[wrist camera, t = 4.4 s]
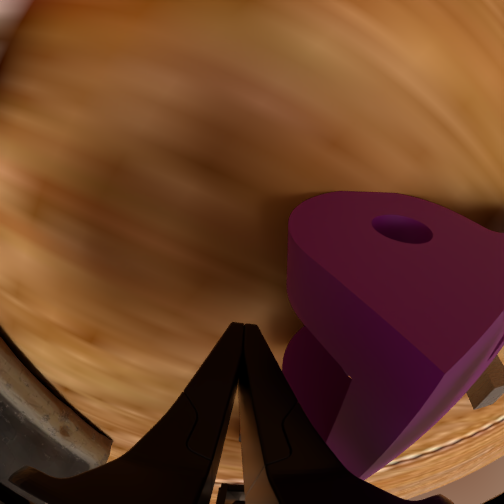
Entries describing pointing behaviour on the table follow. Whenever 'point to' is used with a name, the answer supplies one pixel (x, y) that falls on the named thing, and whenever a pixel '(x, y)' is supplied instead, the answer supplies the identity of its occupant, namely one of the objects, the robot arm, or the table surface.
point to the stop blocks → (488, 385)
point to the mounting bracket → (388, 318)
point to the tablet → (41, 429)
